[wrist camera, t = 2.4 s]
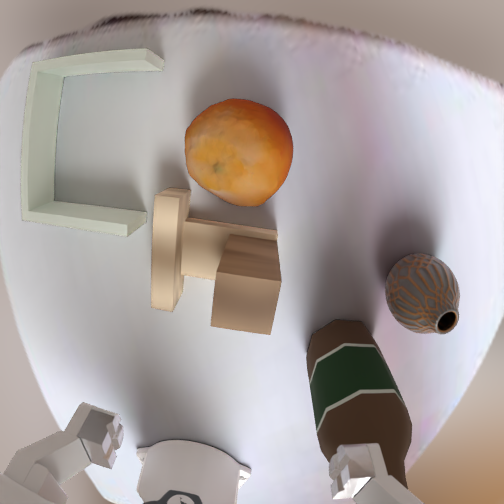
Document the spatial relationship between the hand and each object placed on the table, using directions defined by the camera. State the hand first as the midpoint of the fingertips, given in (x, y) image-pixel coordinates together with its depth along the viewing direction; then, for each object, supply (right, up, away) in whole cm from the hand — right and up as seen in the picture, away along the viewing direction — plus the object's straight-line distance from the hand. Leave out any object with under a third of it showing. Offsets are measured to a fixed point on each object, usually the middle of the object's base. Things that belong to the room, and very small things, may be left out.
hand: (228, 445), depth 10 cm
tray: (-14, +17, +16) cm, 27 cm away
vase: (+17, +4, +19) cm, 26 cm away
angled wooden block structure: (-2, +7, +19) cm, 20 cm away
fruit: (0, +15, +16) cm, 22 cm away
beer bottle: (+10, -3, +22) cm, 25 cm away
